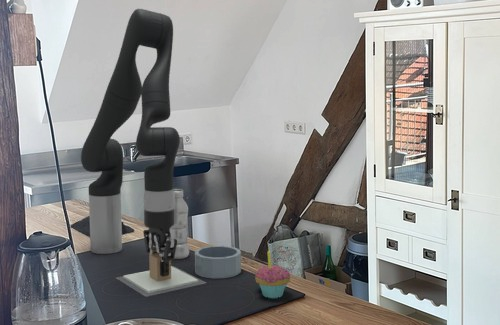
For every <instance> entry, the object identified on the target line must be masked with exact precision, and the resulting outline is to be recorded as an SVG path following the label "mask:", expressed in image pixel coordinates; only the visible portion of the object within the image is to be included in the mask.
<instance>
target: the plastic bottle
mask: <svg viewBox="0 0 500 325" xmlns="http://www.w3.org/2000/svg"><path fill="white" fill-rule="evenodd" d="M173 193H174V219H175V223H174V225H173V226H171V227H170V234H171V238H172V239H176V240H177V245H176V251H175V257H174V260H182V259H186V258H188V256H189V255H190V254H189V253H190V245H189V241H188V234H187V230H188V228H187V227H188V226H187V225H188V216H189V206H188V204H187V202H186V201H185V199H184V189H182V188H173ZM170 255H171V253H170Z"/></svg>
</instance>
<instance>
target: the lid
mask: <svg viewBox="0 0 500 325" xmlns="http://www.w3.org/2000/svg"><path fill="white" fill-rule="evenodd" d="M148 254H149V258H148V259H149V260H148V262H149V264H148V265H149V270H146V271H139V272H135V273H130V274H124V275H123V278H124V279H126V280H127V281H129V282H131V283H132V284H134V285H135V286H137V287H139V288H140V289H142V290H144V291H145V292H147V293H153V292H157V291H162V290H166V289H171V288H175V287H180V286H184V285H189V284H193V283H198V282H199V280H197V279H196V278H197V277H196V278H194V277H195V276H194V277H192V276H193V275H192V276H190V275H191V274H190V275H188V274H189V273H188V274H186V273H187V272H186V273H184V272H185V271H184V272H182V271H183V270H182V271H180V270H181V269H180V270H178V269H179V268H178V269H176V268H177V267H176V268H174V267H175V266H174V267H172V266H173V265H172V260H171V261H169V275H168V276H164V277H162V276H161V275H160V257H159V253H154V254H150V253H148ZM163 257H164V252H163Z"/></svg>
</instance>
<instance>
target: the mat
mask: <svg viewBox="0 0 500 325" xmlns="http://www.w3.org/2000/svg"><path fill="white" fill-rule="evenodd" d="M171 266H172V267H174V268H176V269H178V270H180V271H182V272H184V273H186V274H188V275H190V276H192V277H194V278H196V279H197V280H199V282H198V283H193V284H189V285H184V286H180V287H175V288H171V289H166V290H162V291H157V292H153V293H147V292H145V291H144V290H142V289H140V288H139V287H137V286H135V285H134V284H132V283H131V282H129V281H127V280H126V279H124V278H123V276H124V275H123V276H118V277H115V279H117V280H118V281H119V282H121V283H123V284H124V285H126V286H128V288H131V289H132V290H134V291H135V292H137V293H139V294H140V295H142V296H144V297H146V298H147V297H152V296H156V295H160V294H164V293H165V294H166V293H169V292H174V291H177V290H178V291H179V290H184V289H188V288H191V287H195V286H200V285H204V284H207V282H206V281H204V280H202V279H200V278H198V277H197V276H194V275H192V274H190V273H188V272H187V271H185V270H183V269H181V268H179V267H176V266H174V265H171Z"/></svg>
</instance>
